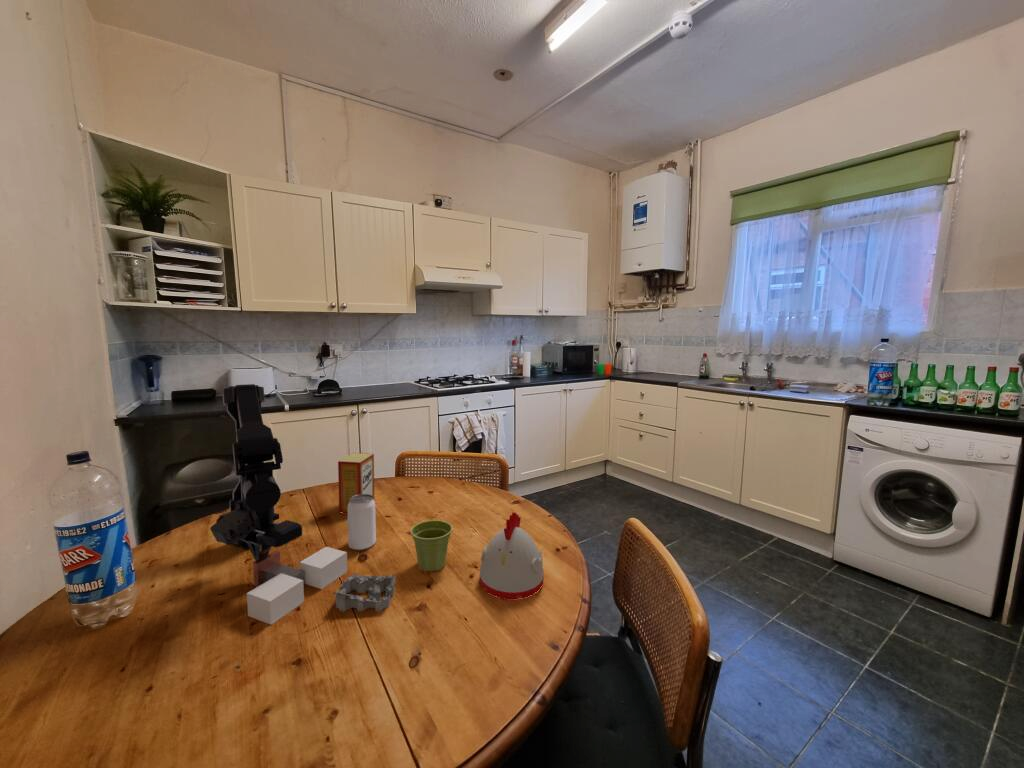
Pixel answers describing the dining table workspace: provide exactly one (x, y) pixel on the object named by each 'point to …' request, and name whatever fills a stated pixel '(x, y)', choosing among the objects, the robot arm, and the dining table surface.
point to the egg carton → (363, 585)
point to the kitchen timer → (511, 563)
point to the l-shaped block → (273, 569)
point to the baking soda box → (355, 477)
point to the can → (361, 522)
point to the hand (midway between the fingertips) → (260, 564)
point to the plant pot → (431, 543)
